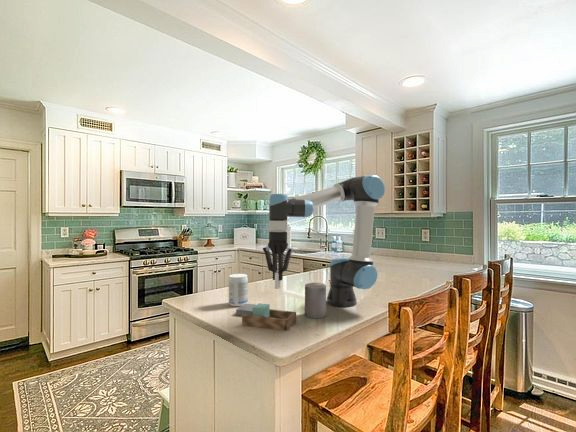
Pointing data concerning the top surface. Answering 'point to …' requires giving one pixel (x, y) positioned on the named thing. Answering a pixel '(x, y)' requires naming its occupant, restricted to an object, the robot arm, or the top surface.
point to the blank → (261, 310)
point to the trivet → (245, 309)
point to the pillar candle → (315, 300)
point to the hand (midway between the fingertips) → (277, 288)
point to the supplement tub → (238, 290)
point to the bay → (271, 320)
